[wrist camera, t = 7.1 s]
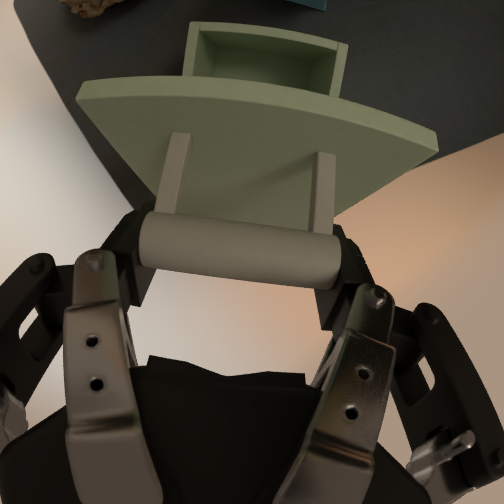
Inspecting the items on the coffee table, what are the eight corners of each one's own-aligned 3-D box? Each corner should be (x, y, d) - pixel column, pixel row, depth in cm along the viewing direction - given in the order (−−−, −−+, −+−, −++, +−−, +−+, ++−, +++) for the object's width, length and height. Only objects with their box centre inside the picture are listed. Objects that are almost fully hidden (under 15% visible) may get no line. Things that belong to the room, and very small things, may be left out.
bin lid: (83, 80, 6) (30, 247, 6) (436, 131, 7) (442, 299, 7) (173, 205, 23) (163, 270, 22) (309, 223, 24) (303, 287, 23)
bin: (212, 40, 24) (189, 21, 15) (319, 56, 24) (348, 44, 15) (197, 169, 32) (173, 208, 23) (294, 182, 33) (308, 225, 24)
